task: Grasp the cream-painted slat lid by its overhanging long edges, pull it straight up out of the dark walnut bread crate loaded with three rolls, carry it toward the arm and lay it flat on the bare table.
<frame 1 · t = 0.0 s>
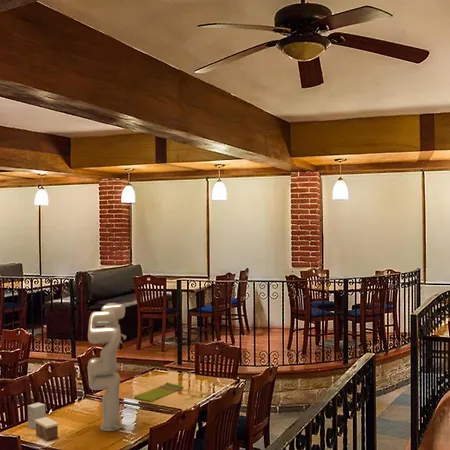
hand: (112, 350, 353), 37 cm above the table, tool pointing down, fingers open, 9 cm apart
dish towel: (159, 394, 385), on the table
lid: (46, 423, 310), point 7 cm above the table, touching crate
supplement box: (37, 426, 326), on the table
crate: (46, 436, 310), on the table
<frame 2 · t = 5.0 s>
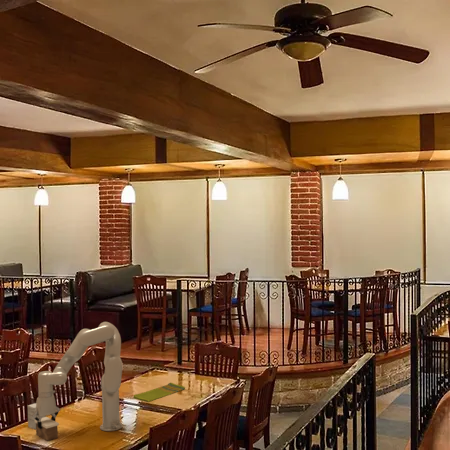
hand: (46, 426, 310), 5 cm above the table, tool pointing down, fingers closed on lid, 7 cm apart
lid: (46, 423, 310), point 7 cm above the table, touching crate, gripper
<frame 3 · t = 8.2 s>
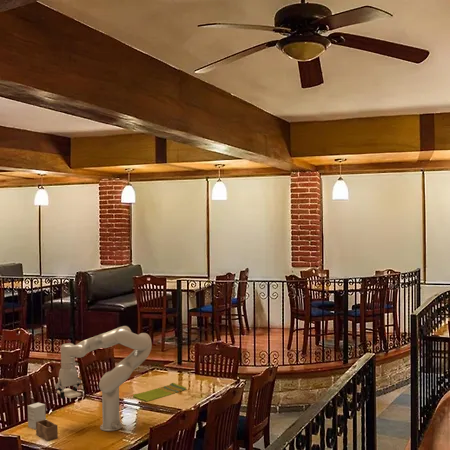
hand: (68, 396, 320), 19 cm above the table, tool pointing down, fingers closed on lid, 7 cm apart
lid: (68, 394, 320), point 20 cm above the table, touching gripper
when the fingers open (1 cm above the table, at t = 11.6 s): lid drops 2 cm, point 1 cm above the table.
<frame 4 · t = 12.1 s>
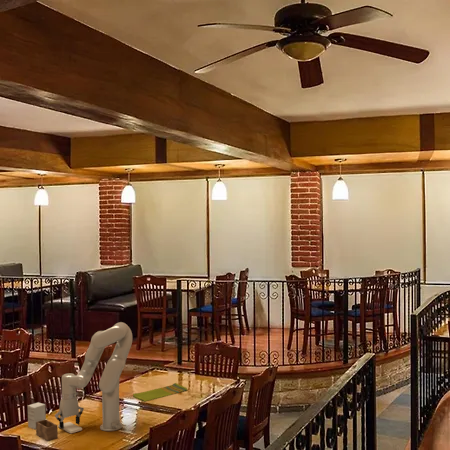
hand: (69, 426, 319), 2 cm above the table, tool pointing down, fingers open, 9 cm apart
lid: (70, 428, 319), point 1 cm above the table
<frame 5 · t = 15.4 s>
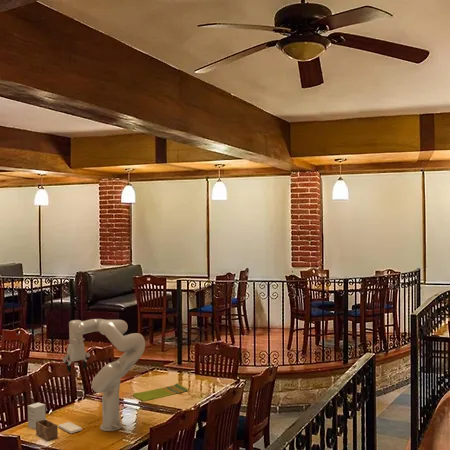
hand: (76, 370, 333), 30 cm above the table, tool pointing down, fingers open, 9 cm apart
at the end: lid inside the target area (0.6 cm from its centre), point 0.5 cm above the table; lid tilted 0°; lid touching table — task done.
